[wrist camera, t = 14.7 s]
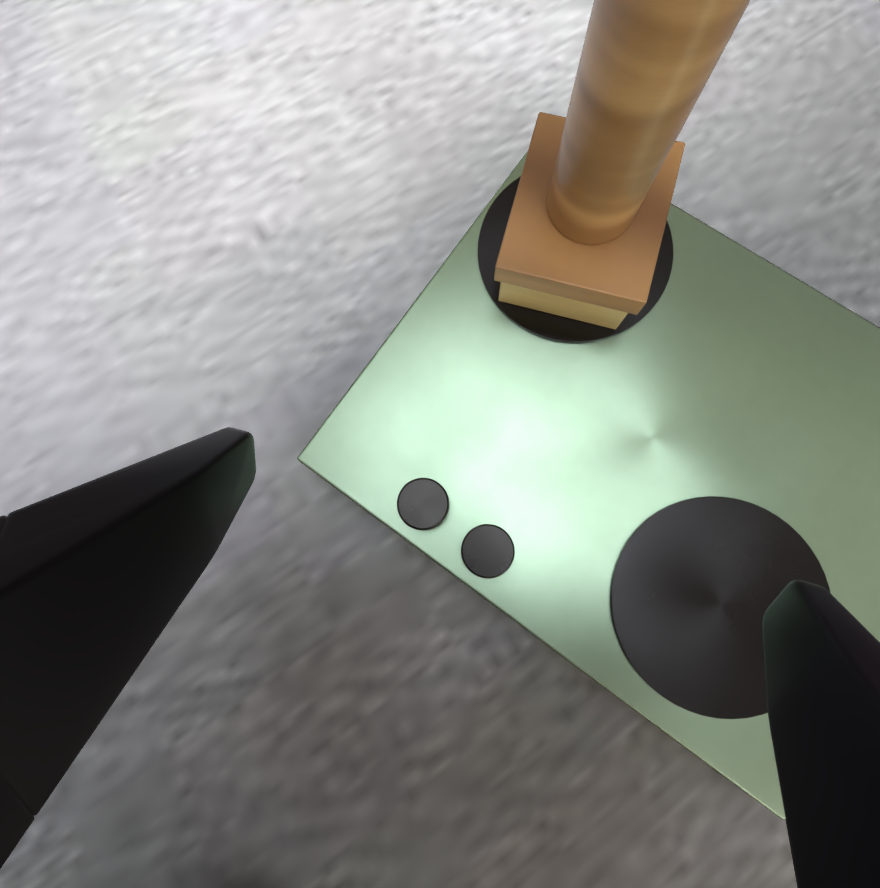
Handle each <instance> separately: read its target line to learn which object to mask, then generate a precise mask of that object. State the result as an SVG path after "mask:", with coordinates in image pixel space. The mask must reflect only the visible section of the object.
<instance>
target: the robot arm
mask: <svg viewBox="0 0 880 888" xmlns="http://www.w3.org/2000/svg"><path fill="white" fill-rule="evenodd" d="M255 473H256V463H255V449H254V439H253V436H252V434H251V433H249V432H247V431H243V430H239V429H235V428H230V427H228V428H224V429H221V430H219V431H216V432H214V433H211V434H209V435H206V436H204V437H201V438H199V439H196V440H194V441H191V442H189V443H186V444H183V445H181V446H178V447H176V448H173V449H171V450H168V451H166V452H163V453H161V454H158V455H156V456H153V457H150V458H148V459H145V460H143V461H140V462H138V463H135V464H133V465H130V466H128V467H125V468H123V469H120V470H118V471H115V472H112V473H110V474H107V475H105V476H102V477H100V478H97V479H95V480H92V481H90V482H87V483H85V484H82V485H80V486H77V487H74V488H72V489H69V490H67V491H64V492H62V493H59V494H57V495H54V496H52V497H49V498H47V499H44V500H41V501H39V502H36V503H34V504H31V505H29V506H26V507H24V508H21V509H19V510H16V511H13V512H11V513H9V514H8V516H7V517H6V516H0V868H1V867H2V865H3V864H4V863H5V861H6V860H7V858H8V857H9V855H10V854H11V852H12V851H13V849H14V848H15V846H16V845H17V844H18V842H19V841H20V839H21V838H22V836H23V835H24V833H25V832H26V830H27V829H28V827H29V826H30V825H31V823H32V822H33V820H34V815H37V814H38V812H39V811H40V809H41V808H42V806H43V805H44V803H45V802H46V800H47V799H48V798H49V796H50V795H51V793H52V792H53V790H54V789H55V787H56V786H57V784H58V783H59V781H60V780H61V779H62V777H63V776H64V774H65V773H66V771H67V770H68V768H69V767H70V765H71V764H72V762H73V761H74V760H75V758H76V757H77V755H78V754H79V752H80V751H81V749H82V748H83V746H84V745H85V743H86V742H87V741H88V739H89V738H90V736H91V735H92V733H93V732H94V730H95V729H96V727H97V726H98V724H99V723H100V722H101V720H102V719H103V717H104V716H105V714H106V713H107V711H108V710H109V708H110V707H111V705H112V704H113V703H114V701H115V700H116V698H117V697H118V695H119V694H120V692H121V691H122V689H123V688H124V686H125V685H126V684H127V682H128V681H129V679H130V678H131V676H132V675H133V673H134V672H135V670H136V669H137V667H138V666H139V665H140V663H141V662H142V660H143V659H144V657H145V656H146V654H147V653H148V651H149V650H150V648H151V647H152V646H153V644H154V643H155V641H156V640H157V638H158V637H159V635H160V634H161V632H162V631H163V629H164V628H165V627H166V625H167V624H168V622H169V621H170V619H171V618H172V616H173V615H174V613H175V612H176V610H177V609H178V608H179V606H180V605H181V603H182V602H183V600H184V599H185V597H186V596H187V594H188V593H189V591H190V590H191V589H192V587H193V586H194V584H195V583H196V581H197V580H198V578H199V577H200V575H201V574H202V572H203V571H204V570H205V568H206V567H207V565H208V564H209V562H210V560H211V559H212V557H213V556H214V554H215V552H216V551H217V549H218V547H219V545H220V544H221V542H222V540H223V538H224V536H225V534H226V532H227V530H228V528H229V527H230V525H231V523H232V521H233V519H234V517H235V515H236V513H237V511H238V510H239V508H240V506H241V504H242V502H243V500H244V498H245V496H246V494H247V492H248V491H249V489H250V487H251V485H252V483H253V481H254V478H255ZM762 627H763V645H764V662H765V679H766V697H767V709H768V718H769V725H770V732H771V737H772V743H773V749H774V755H775V760H776V766H777V772H778V778H779V784H780V789H781V795H782V801H783V807H784V812H785V818H786V824H787V830H788V835H789V841H790V847H791V853H792V858H793V864H794V870H795V876H796V882H797V887H798V888H880V642H879V641H878V640H877V639H876V638H875V637H874V636H873V635H872V634H871V633H870V632H869V631H868V630H867V629H866V628H865V627H864V626H863V625H862V624H861V623H860V622H859V621H858V620H857V619H856V618H855V617H854V616H853V615H852V614H851V613H850V612H849V611H848V610H847V609H846V608H845V607H844V606H843V605H842V604H841V603H840V602H839V601H838V600H837V599H836V598H835V597H834V596H833V595H832V594H831V593H830V592H829V591H828V590H827V589H826V588H824V587H822V586H820V585H816V584H813V583H809V582H805V581H802V580H794V581H792V582H790V583H789V584H788V585H787V586H786V587H785V588H784V589H783V590H782V592H781V593H780V594H779V595H778V596H777V598H776V599H775V600H774V601H773V602H772V603H771V605H770V606H769V607H768V608H767V610H766V611H765V614H764V617H763V622H762Z"/></svg>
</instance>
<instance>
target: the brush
mask: <svg viewBox="0 0 880 888" xmlns="http://www.w3.org/2000/svg"><path fill="white" fill-rule="evenodd" d="M749 2H750V0H594V3H593V7H592V11H591V15H590V20H589V24H588V28H587V32H586V36H585V41H584V45H583V49H582V53H581V57H580V62H579V66H578V70H577V74H576V79H575V83H574V87H573V91H572V95H571V100H570V104H569V108H568V112H567V116H566V117H561V116H556V115H551V114H547V113H542V112H540V113H539V114H538V118H537V121H536V125H535V128H534V132H533V135H532V139H531V142H530V146H529V149H528V153H527V156H526V160H525V163H524V167H523V171H522V174H521V178H520V181H519V185H518V188H517V192H516V195H515V199H514V202H513V206H512V209H511V213H510V216H509V220H508V223H507V227H506V230H505V234H504V237H503V241H502V244H501V248H500V251H499V255H498V258H497V262H496V266H495V274H494V280H495V281H499V282H500V290H499V298H498V300H499V301H501V302H506V303H510V304H514V305H518V306H522V307H526V308H530V309H534V310H538V311H542V312H546V313H550V314H554V315H558V316H563V317H567V318H571V319H575V320H579V321H583V322H587V323H591V324H595V325H599V326H603V327H607V328H611V329H617V327H618V326H619V325H620V323H621V322H622V321H623V319H624V318H625V317H626V315H627V314H628V313H631V314H635V315H637V314H638V313H639V311H640V310H641V309H642V308H643V306H644V305H645V304H646V303H647V299H648V295H649V290H650V286H651V282H652V278H653V274H654V270H655V266H656V262H657V258H658V253H659V249H660V245H661V241H662V237H663V233H664V229H665V225H666V221H667V216H668V212H669V208H670V204H671V200H672V196H673V192H674V188H675V183H676V179H677V175H678V171H679V167H680V163H681V159H682V155H683V151H684V146H685V143H683V142H679V141H676V139H677V137H678V135H679V133H680V131H681V129H682V127H683V126H684V124H685V122H686V120H687V118H688V116H689V114H690V112H691V111H692V109H693V107H694V105H695V103H696V101H697V99H698V97H699V96H700V94H701V92H702V90H703V88H704V86H705V84H706V82H707V81H708V79H709V77H710V75H711V73H712V71H713V69H714V67H715V66H716V64H717V62H718V60H719V58H720V56H721V54H722V53H723V51H724V49H725V47H726V45H727V43H728V41H729V39H730V38H731V36H732V34H733V32H734V30H735V28H736V26H737V24H738V23H739V21H740V19H741V17H742V15H743V13H744V11H745V9H746V8H747V6H748V4H749Z"/></svg>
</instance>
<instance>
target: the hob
mask: <svg viewBox="0 0 880 888" xmlns="http://www.w3.org/2000/svg"><path fill="white" fill-rule="evenodd" d="M527 153H528V151H527ZM527 153H526V154H525V155H524V157H523V158H522V159H521V161H520V162H519V163H518V165H517V166H516V167H515V169H514V170H513V171H512V173H511V174H510V175H509V177H508V178H507V179H506V181H505V182H504V183H503V185H502V186H501V187H500V189H499V190H498V191H497V193H496V194H495V195H494V197H493V198H492V199H491V201H490V202H489V203H488V205H487V206H486V207H485V209H484V210H483V211H482V212H481V214H480V215H479V216H478V218H477V219H476V220H475V222H474V223H473V224H472V226H471V227H470V228H469V230H468V231H467V232H466V234H465V235H464V236H463V238H462V239H461V240H460V242H459V243H458V244H457V246H456V247H455V248H454V250H453V251H452V252H451V254H450V255H449V256H448V258H447V259H446V260H445V262H444V263H443V264H442V266H441V267H440V268H439V270H438V271H437V272H436V274H435V275H434V276H433V278H432V279H431V280H430V282H429V283H428V284H427V286H426V287H425V288H424V290H423V291H422V292H421V294H420V295H419V296H418V298H417V299H416V300H415V302H414V303H413V304H412V306H411V307H410V308H409V310H408V311H407V312H406V314H405V315H404V316H403V318H402V319H401V320H400V322H399V323H398V324H397V326H396V327H395V328H394V330H393V331H392V332H391V334H390V335H389V336H388V338H387V339H386V340H385V342H384V343H383V344H382V346H381V347H380V348H379V350H378V351H377V352H376V354H375V355H374V356H373V358H372V359H371V360H370V362H369V363H368V364H367V366H366V367H365V368H364V370H363V371H362V372H361V374H360V375H359V376H358V378H357V379H356V380H355V382H354V383H353V384H352V385H351V387H350V388H349V389H348V391H347V392H346V393H345V395H344V396H343V397H342V399H341V400H340V401H339V403H338V404H337V405H336V407H335V408H334V409H333V411H332V412H331V413H330V415H329V416H328V417H327V419H326V420H325V421H324V423H323V424H322V425H321V427H320V428H319V429H318V431H317V432H316V433H315V435H314V436H313V437H312V439H311V440H310V441H309V443H308V444H307V445H306V447H305V448H304V449H303V451H302V452H301V453H300V455H299V456H298V458H297V459H298V461H300V462H301V463H302V464H304V465H305V466H306V467H308V468H309V469H310V470H312V471H313V472H314V473H316V474H317V475H319V476H320V477H321V478H323V479H324V480H325V481H327V482H328V483H329V484H331V485H332V486H333V487H335V488H336V489H337V490H339V491H340V492H341V493H343V494H344V495H345V496H347V497H348V498H350V499H351V500H352V501H354V502H355V503H356V504H358V505H359V506H360V507H362V508H363V509H364V510H366V511H367V512H368V513H370V514H371V515H372V516H374V517H375V518H377V519H378V520H379V521H381V522H382V523H383V524H385V525H386V526H387V527H389V528H390V529H391V530H393V531H394V532H395V533H397V534H398V535H399V536H401V537H402V538H403V539H405V540H406V541H408V542H409V543H410V544H412V545H413V546H414V547H416V548H417V549H418V550H420V551H421V552H422V553H424V554H425V555H426V556H428V557H429V558H430V559H432V560H433V561H434V562H436V563H437V564H439V565H440V566H441V567H443V568H444V569H445V570H447V571H448V572H449V573H451V574H452V575H453V576H455V577H456V578H457V579H459V580H460V581H461V582H463V583H464V584H465V585H467V586H468V587H470V588H471V589H472V590H474V591H475V592H476V593H478V594H479V595H480V596H482V597H483V598H484V599H486V600H487V601H488V602H490V603H491V604H492V605H494V606H495V607H496V608H498V609H499V610H501V611H502V612H503V613H505V614H506V615H507V616H509V617H510V618H511V619H513V620H514V621H515V622H517V623H518V624H519V625H521V626H522V627H523V628H525V629H526V630H527V631H529V632H530V633H532V634H533V635H534V636H536V637H537V638H538V639H540V640H541V641H542V642H544V643H545V644H546V645H548V646H549V647H550V648H552V649H553V650H554V651H556V652H557V653H558V654H560V655H561V656H563V657H564V658H565V659H567V660H568V661H569V662H571V663H572V664H573V665H575V666H576V667H577V668H579V669H580V670H581V671H583V672H584V673H585V674H587V675H588V676H589V677H591V678H592V679H594V680H595V681H596V682H598V683H599V684H600V685H602V686H603V687H604V688H606V689H607V690H608V691H610V692H611V693H612V694H614V695H615V696H616V697H618V698H619V699H621V700H622V701H623V702H625V703H626V704H627V705H629V706H630V707H631V708H633V709H634V710H635V711H637V712H638V713H639V714H641V715H642V716H643V717H645V718H646V719H647V720H649V721H650V722H652V723H653V724H654V725H656V726H657V727H658V728H660V729H661V730H662V731H664V732H665V733H666V734H668V735H669V736H670V737H672V738H673V739H674V740H676V741H677V742H678V743H680V744H681V745H683V746H684V747H685V748H687V749H688V750H689V751H691V752H692V753H693V754H695V755H696V756H697V757H699V758H700V759H701V760H703V761H704V762H705V763H707V764H708V765H709V766H711V767H712V768H714V769H715V770H716V771H718V772H719V773H720V774H722V775H723V776H724V777H726V778H727V779H728V780H730V781H731V782H732V783H734V784H735V785H736V786H738V787H739V788H740V789H742V790H743V791H745V792H746V793H747V794H749V795H750V796H751V797H753V798H754V799H755V800H757V801H758V802H759V803H761V804H762V805H763V806H765V807H766V808H767V809H769V810H770V811H771V812H773V813H774V814H776V815H777V816H778V817H780V818H781V819H784V820H785V819H786V818H785V812H784V807H783V801H782V795H781V789H780V784H779V778H778V772H777V766H776V760H775V755H774V749H773V743H772V737H771V732H770V725H769V718H768V709H767V697H766V679H765V662H764V645H763V627H762V622H763V617H764V614H765V611H766V610H767V608H768V607H769V606H770V605H771V603H772V602H773V601H774V600H775V599H776V598H777V596H778V595H779V594H780V593H781V592H782V590H783V589H784V588H785V587H786V586H787V585H788V584H789V583H790V582H792V581H794V580H802V581H805V582H809V583H813V584H816V585H820V586H822V587H824V588H826V589H827V590H828V591H829V592H830V593H831V594H832V595H833V596H834V597H835V598H836V599H837V600H838V601H839V602H840V603H841V604H842V605H843V606H844V607H845V608H846V609H847V610H848V611H849V612H850V613H851V614H852V615H853V616H854V617H855V618H856V619H857V620H858V621H859V622H860V623H861V624H862V625H863V626H864V627H865V628H866V629H867V630H868V631H869V632H870V633H871V634H872V635H873V636H874V637H875V638H876V639H877V640H878V641H879V642H880V328H879V327H877V326H876V325H874V324H872V323H871V322H869V321H867V320H866V319H864V318H862V317H861V316H859V315H857V314H856V313H854V312H852V311H851V310H849V309H847V308H846V307H844V306H842V305H841V304H839V303H837V302H836V301H834V300H832V299H831V298H829V297H827V296H825V295H824V294H822V293H820V292H819V291H817V290H815V289H814V288H812V287H810V286H809V285H807V284H805V283H804V282H802V281H800V280H799V279H797V278H795V277H794V276H792V275H790V274H789V273H787V272H785V271H784V270H782V269H780V268H779V267H777V266H775V265H774V264H772V263H770V262H769V261H767V260H765V259H764V258H762V257H760V256H758V255H757V254H755V253H753V252H752V251H750V250H748V249H747V248H745V247H743V246H742V245H740V244H738V243H737V242H735V241H733V240H732V239H730V238H728V237H727V236H725V235H723V234H722V233H720V232H718V231H717V230H715V229H713V228H712V227H710V226H708V225H707V224H705V223H703V222H702V221H700V220H698V219H697V218H695V217H693V216H692V215H690V214H688V213H686V212H685V211H683V210H681V209H680V208H678V207H676V206H675V205H673V204H670V208H669V212H668V216H667V221H666V225H665V229H664V233H663V237H662V241H661V245H660V249H659V253H658V258H657V262H656V266H655V270H654V274H653V278H652V282H651V286H650V290H649V295H648V299H647V303H646V304H645V305H644V306H643V308H642V309H641V310H640V311H639V313H638V314H637V315H635V314H631V313H628V314H627V315H626V317H625V318H624V319H623V321H622V322H621V323H620V325H619V326H618V327H617V329H611V328H607V327H603V326H599V325H595V324H591V323H587V322H583V321H579V320H575V319H571V318H567V317H563V316H558V315H554V314H550V313H546V312H542V311H538V310H534V309H530V308H526V307H522V306H518V305H514V304H510V303H506V302H501V301H499V300H498V298H499V290H500V282H499V281H495V280H494V274H495V266H496V262H497V258H498V255H499V251H500V248H501V244H502V241H503V237H504V234H505V230H506V227H507V223H508V220H509V216H510V213H511V209H512V206H513V202H514V199H515V195H516V192H517V188H518V185H519V181H520V178H521V174H522V171H523V167H524V163H525V160H526V156H527Z"/></svg>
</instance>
